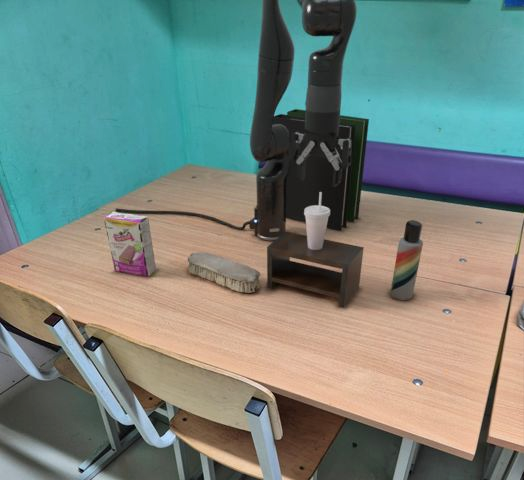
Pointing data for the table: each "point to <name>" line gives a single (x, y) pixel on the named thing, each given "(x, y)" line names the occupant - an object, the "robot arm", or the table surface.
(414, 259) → the lotion bottle
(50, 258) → the table surface
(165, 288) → the table surface
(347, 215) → the binder
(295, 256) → the box
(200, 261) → the shoe brush
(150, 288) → the table surface
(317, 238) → the smoothie
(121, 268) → the candy bar box
